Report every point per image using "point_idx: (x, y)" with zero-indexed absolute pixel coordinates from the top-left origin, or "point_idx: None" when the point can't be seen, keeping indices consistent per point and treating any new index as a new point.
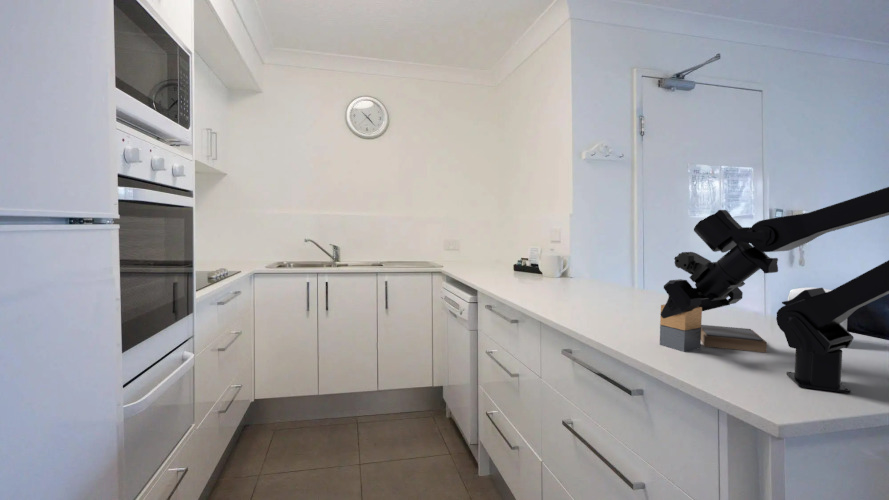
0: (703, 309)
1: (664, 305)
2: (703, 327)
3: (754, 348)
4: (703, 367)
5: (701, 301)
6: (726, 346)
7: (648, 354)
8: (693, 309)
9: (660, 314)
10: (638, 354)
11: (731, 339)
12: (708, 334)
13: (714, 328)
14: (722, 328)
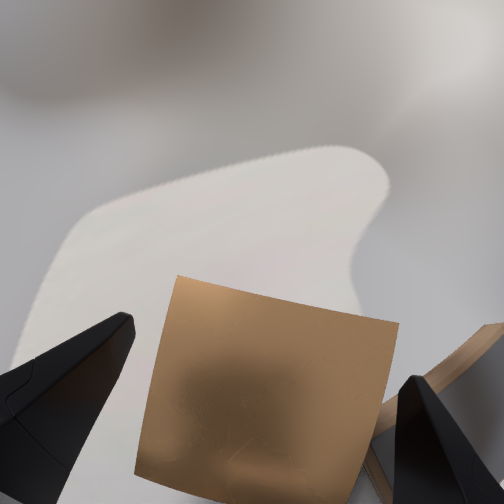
0: (397, 484)
1: (176, 305)
2: (478, 367)
3: None
4: (90, 473)
5: (429, 491)
6: (371, 478)
7: (80, 324)
8: (234, 500)
9: (120, 312)
10: (62, 301)
11: (384, 499)
12: (377, 443)
13: (486, 398)
14: (500, 411)
